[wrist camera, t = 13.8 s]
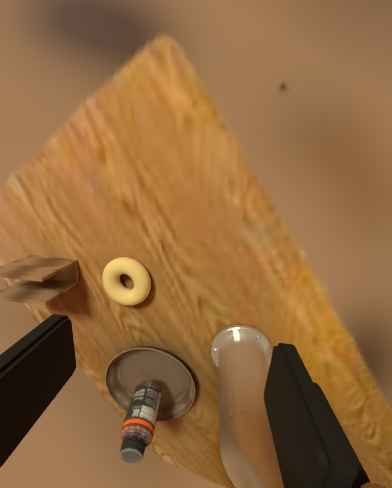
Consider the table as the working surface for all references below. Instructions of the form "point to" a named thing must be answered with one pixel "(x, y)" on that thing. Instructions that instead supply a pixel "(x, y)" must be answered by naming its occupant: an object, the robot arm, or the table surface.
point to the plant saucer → (151, 379)
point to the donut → (118, 289)
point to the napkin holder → (39, 279)
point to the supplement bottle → (140, 421)
